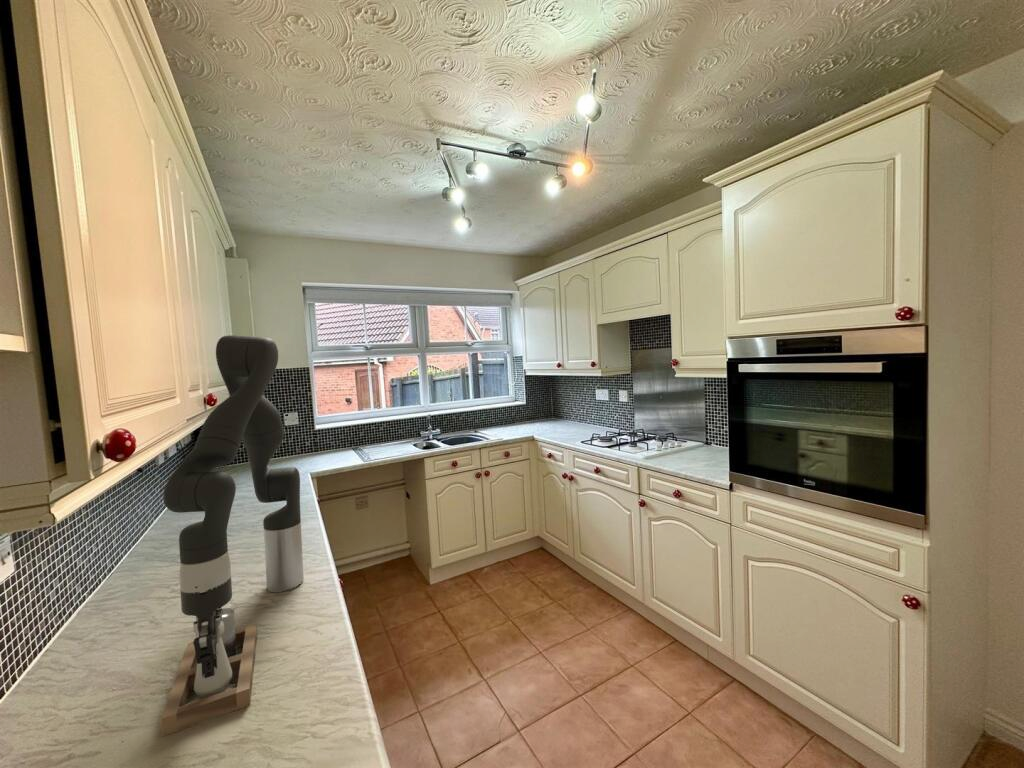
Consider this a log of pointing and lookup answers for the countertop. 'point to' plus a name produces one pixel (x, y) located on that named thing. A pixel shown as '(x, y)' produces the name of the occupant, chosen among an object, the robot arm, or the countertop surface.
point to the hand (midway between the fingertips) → (211, 670)
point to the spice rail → (215, 705)
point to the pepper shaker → (229, 632)
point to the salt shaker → (221, 674)
